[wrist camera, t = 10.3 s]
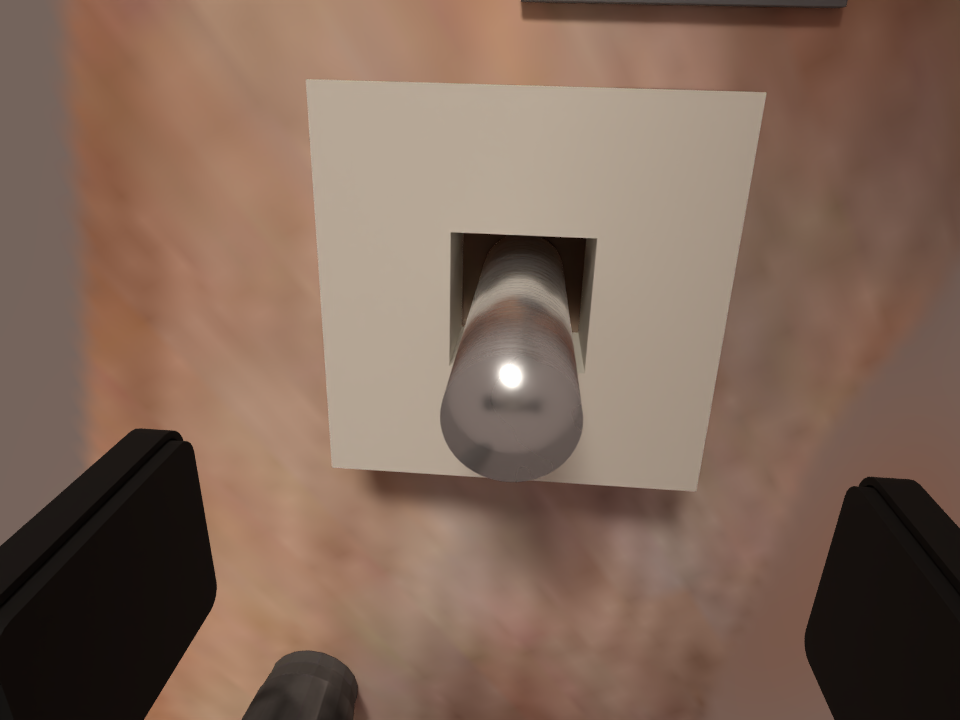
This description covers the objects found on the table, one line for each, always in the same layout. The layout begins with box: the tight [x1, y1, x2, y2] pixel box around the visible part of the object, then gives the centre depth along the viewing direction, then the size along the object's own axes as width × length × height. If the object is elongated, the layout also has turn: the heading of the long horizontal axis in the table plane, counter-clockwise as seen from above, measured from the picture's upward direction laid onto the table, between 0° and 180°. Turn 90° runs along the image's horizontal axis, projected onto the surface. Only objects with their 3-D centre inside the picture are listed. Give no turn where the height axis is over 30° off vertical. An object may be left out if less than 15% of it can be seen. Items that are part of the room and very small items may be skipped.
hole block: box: [306, 79, 767, 492], centre depth 23 cm, size 13×13×4 cm
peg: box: [440, 235, 583, 482], centre depth 20 cm, size 3×3×12 cm
